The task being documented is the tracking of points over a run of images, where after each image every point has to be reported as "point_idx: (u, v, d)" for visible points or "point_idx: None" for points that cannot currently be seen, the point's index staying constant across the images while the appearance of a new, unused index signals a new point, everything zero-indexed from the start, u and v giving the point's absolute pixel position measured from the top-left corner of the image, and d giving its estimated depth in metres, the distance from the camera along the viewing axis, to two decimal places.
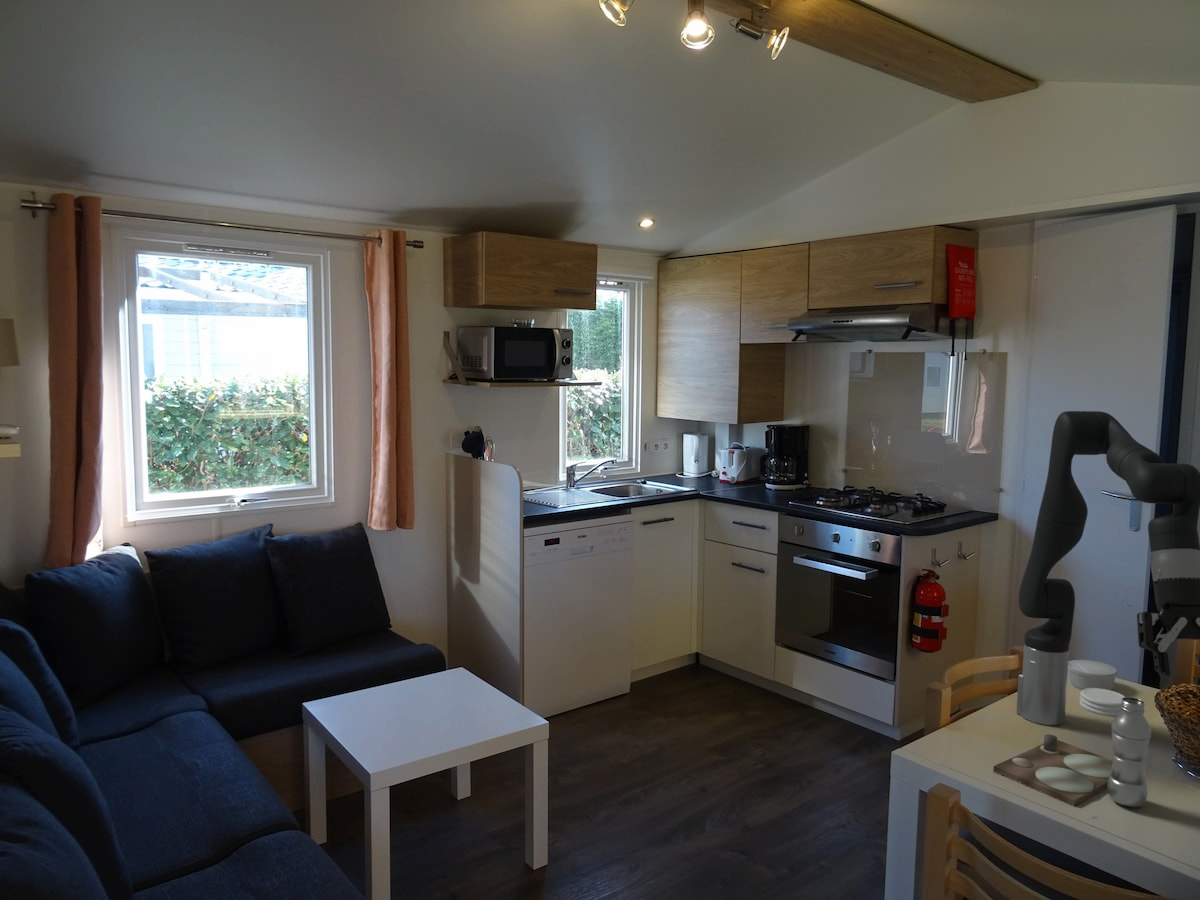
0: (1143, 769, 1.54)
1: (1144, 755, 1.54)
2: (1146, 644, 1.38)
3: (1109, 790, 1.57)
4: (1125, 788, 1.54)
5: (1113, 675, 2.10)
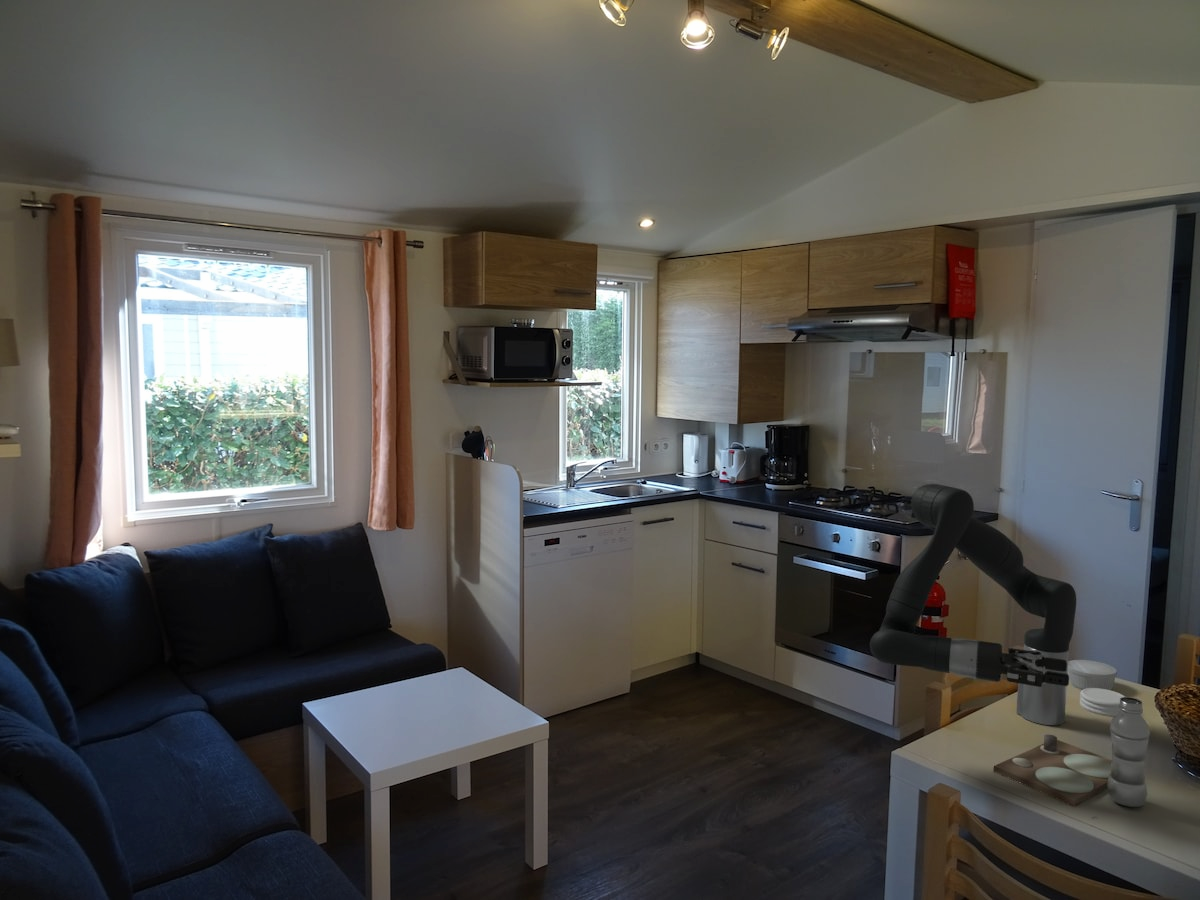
0: (1142, 769, 1.54)
1: (1143, 755, 1.54)
2: None
3: (1109, 790, 1.57)
4: (1125, 789, 1.54)
5: (1113, 675, 2.10)
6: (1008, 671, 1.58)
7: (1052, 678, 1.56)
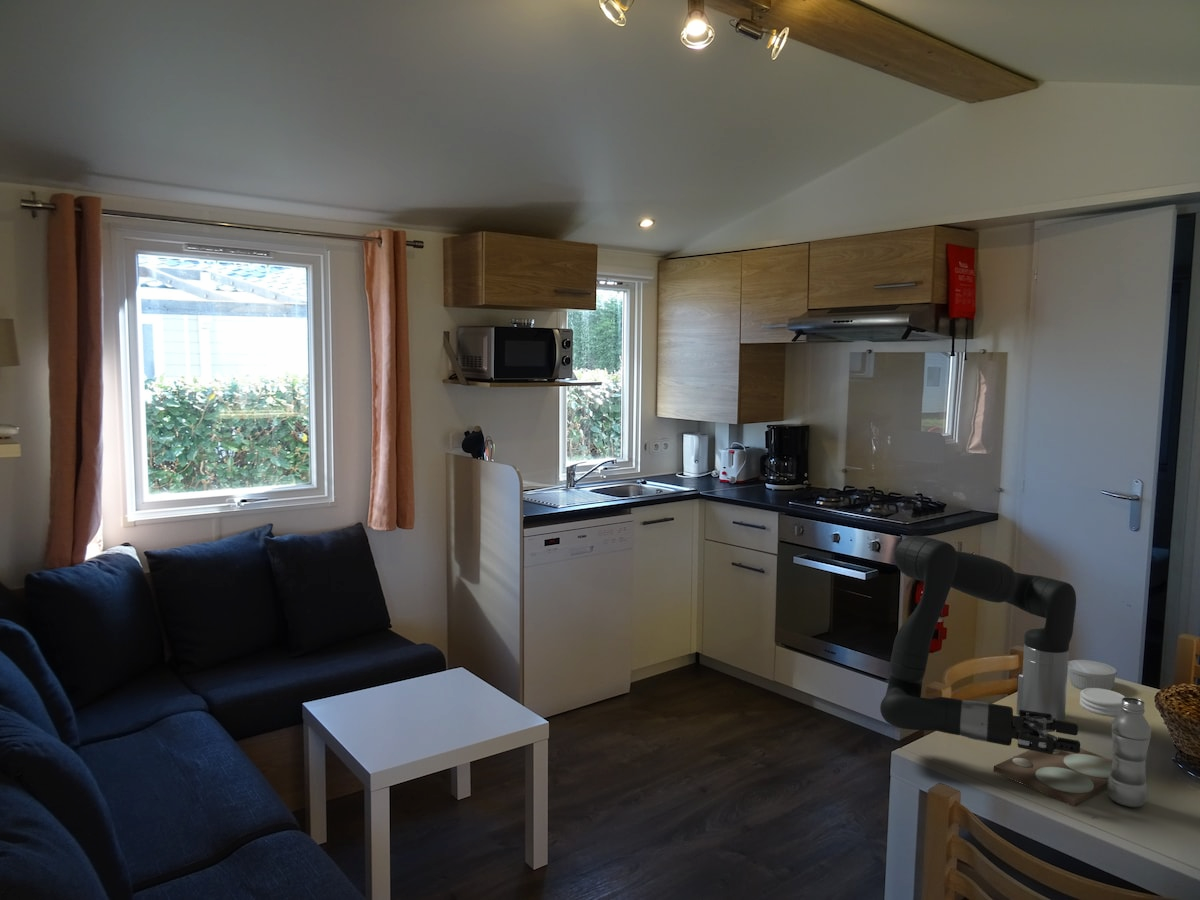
0: (1143, 769, 1.54)
1: (1144, 755, 1.54)
2: None
3: (1109, 790, 1.57)
4: (1125, 789, 1.54)
5: (1113, 675, 2.10)
6: (1019, 737, 1.58)
7: (1063, 745, 1.56)
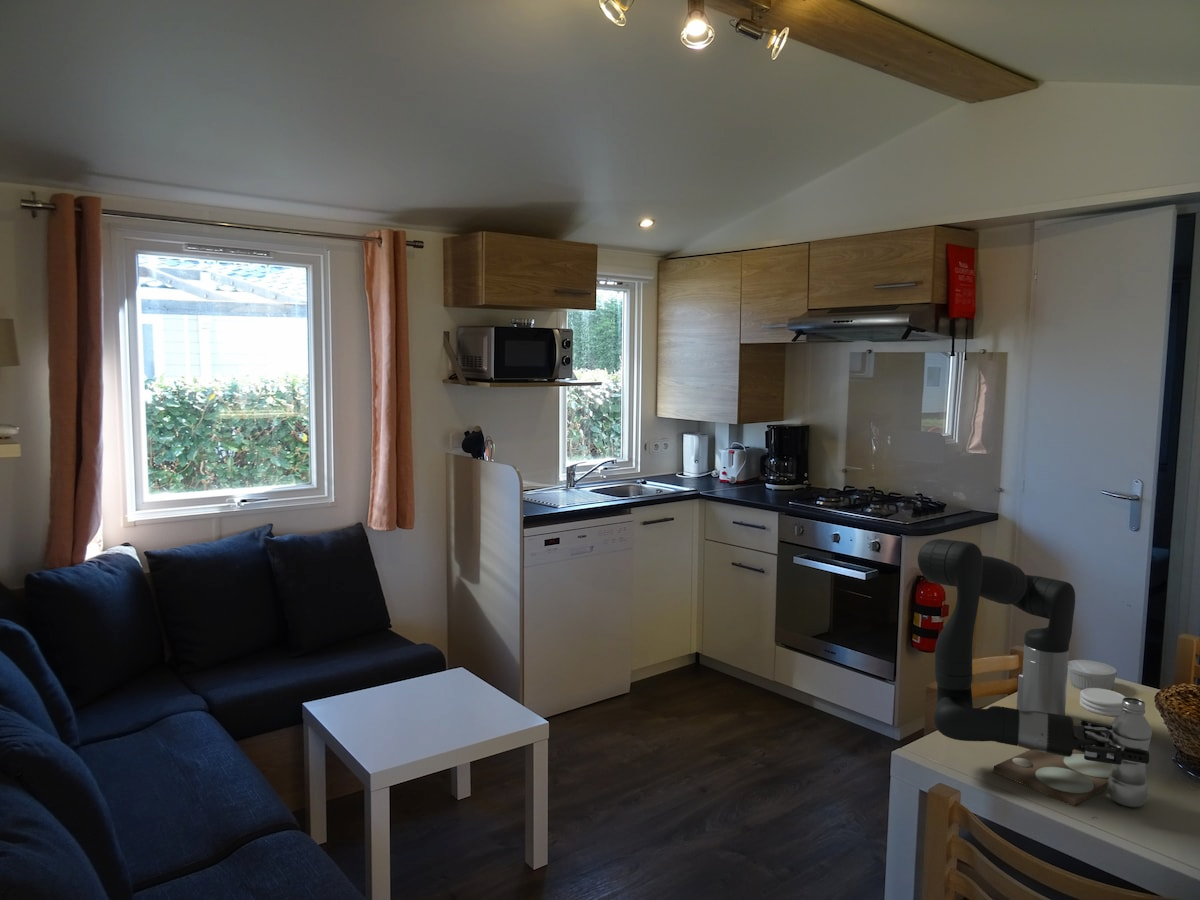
0: (1143, 769, 1.54)
1: None
2: None
3: (1109, 790, 1.57)
4: (1125, 789, 1.54)
5: (1113, 675, 2.10)
6: (1086, 749, 1.53)
7: (1132, 755, 1.52)
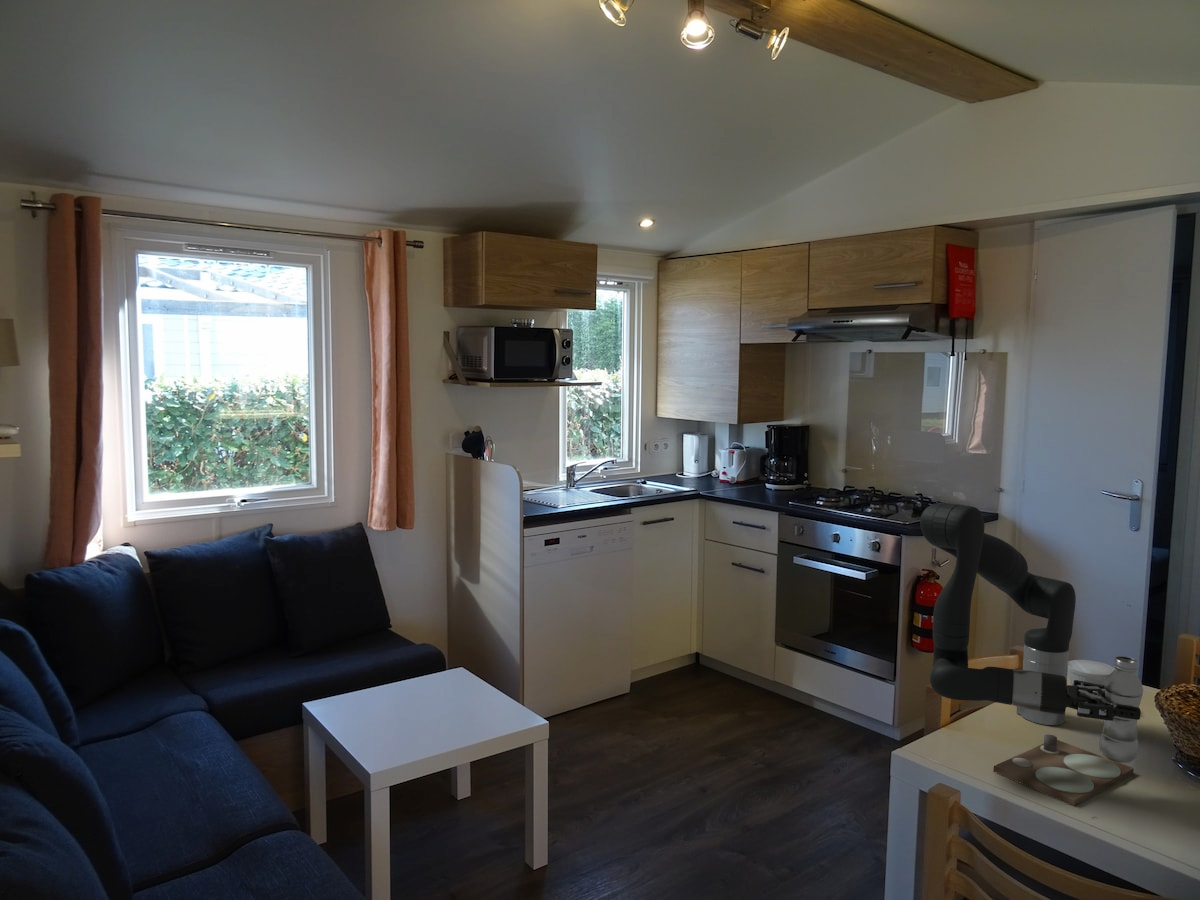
0: (1135, 726, 1.57)
1: None
2: None
3: (1101, 747, 1.60)
4: (1117, 745, 1.58)
5: None
6: (1079, 706, 1.57)
7: (1123, 712, 1.55)
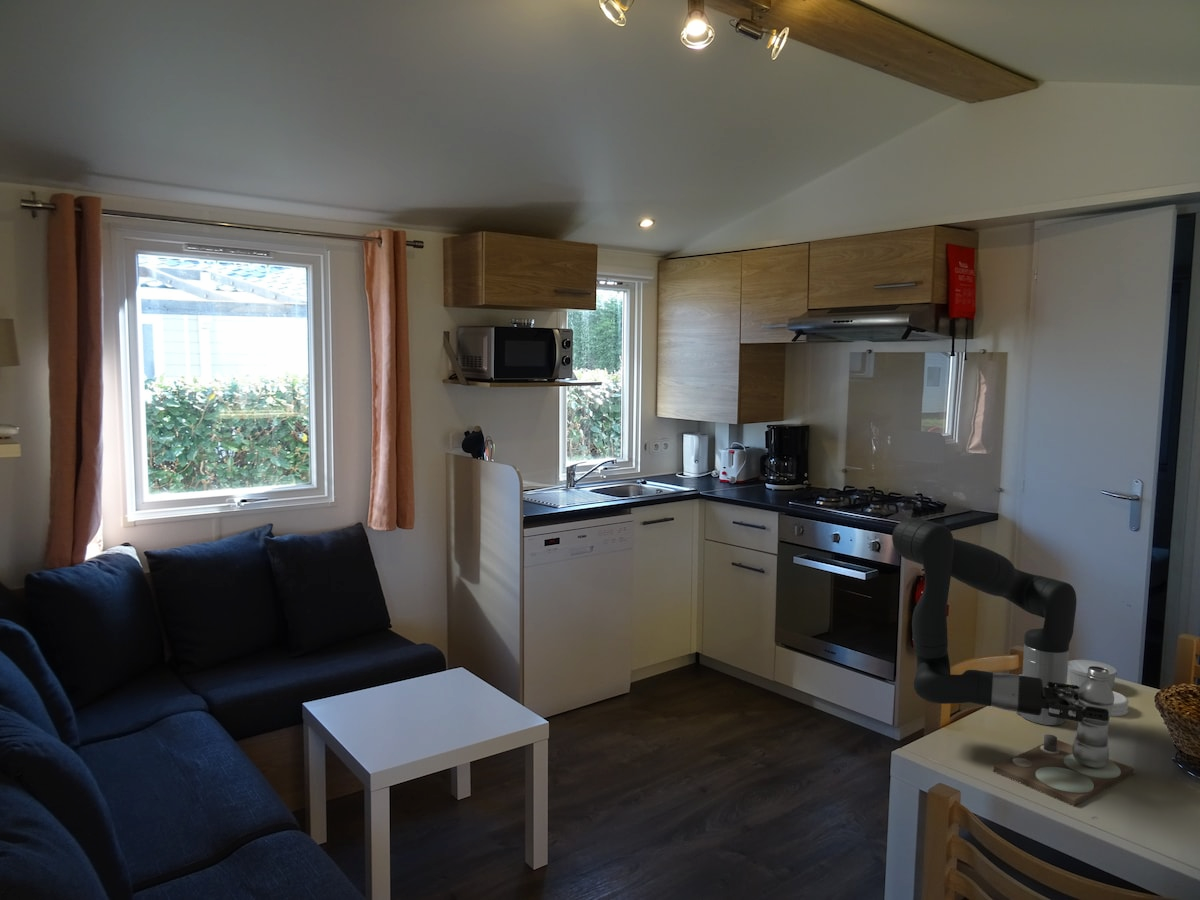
0: (1105, 733, 1.66)
1: None
2: None
3: (1074, 752, 1.69)
4: (1088, 750, 1.66)
5: (1113, 675, 2.10)
6: (1050, 706, 1.66)
7: (1092, 713, 1.63)
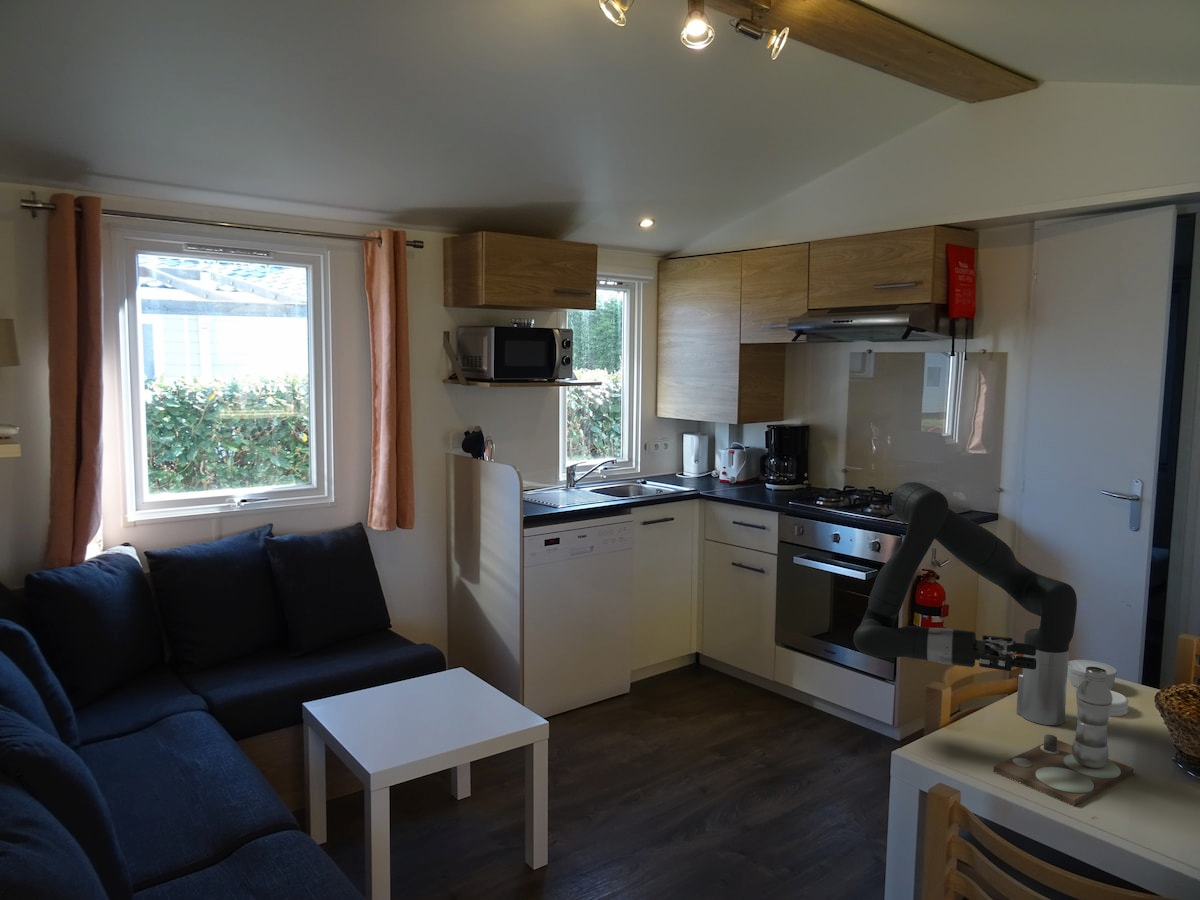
0: (1104, 733, 1.66)
1: (1105, 720, 1.66)
2: None
3: (1073, 752, 1.69)
4: (1087, 751, 1.66)
5: (1113, 675, 2.10)
6: (980, 657, 1.71)
7: (1021, 662, 1.69)
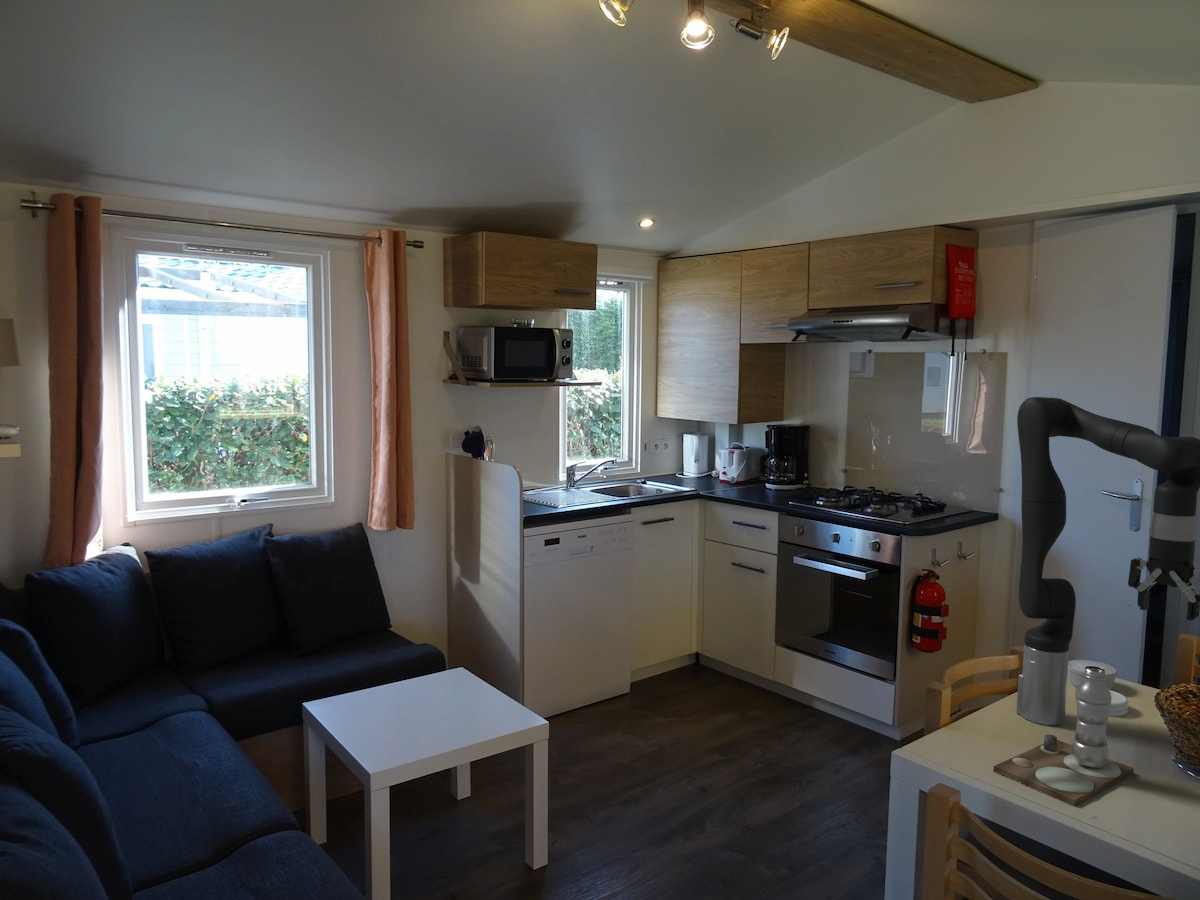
0: (1104, 732, 1.66)
1: (1105, 719, 1.66)
2: (1128, 583, 1.73)
3: (1073, 752, 1.69)
4: (1087, 750, 1.66)
5: (1113, 675, 2.10)
6: None
7: (1198, 607, 1.64)
